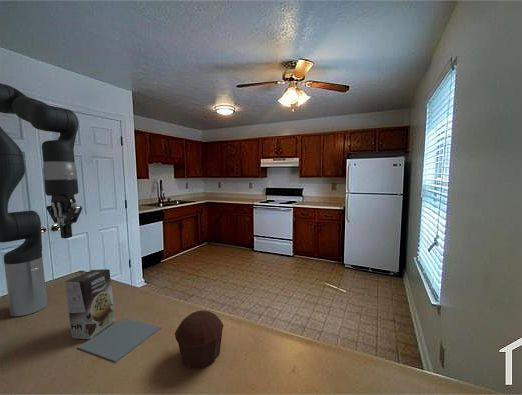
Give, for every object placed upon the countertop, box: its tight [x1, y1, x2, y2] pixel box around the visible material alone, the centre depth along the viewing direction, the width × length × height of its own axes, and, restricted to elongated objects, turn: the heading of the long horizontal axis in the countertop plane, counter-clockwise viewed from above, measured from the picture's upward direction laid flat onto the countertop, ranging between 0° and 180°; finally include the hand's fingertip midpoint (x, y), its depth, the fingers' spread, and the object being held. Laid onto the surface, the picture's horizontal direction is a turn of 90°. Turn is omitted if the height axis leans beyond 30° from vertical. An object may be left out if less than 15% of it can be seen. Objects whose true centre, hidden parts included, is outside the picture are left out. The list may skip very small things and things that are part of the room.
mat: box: [77, 317, 161, 363], centre depth 68 cm, size 14×14×1 cm
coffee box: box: [64, 268, 117, 340], centre depth 71 cm, size 9×6×16 cm
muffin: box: [174, 310, 224, 369], centre depth 60 cm, size 12×11×10 cm
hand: (66, 237), depth 73 cm, fingers closed
